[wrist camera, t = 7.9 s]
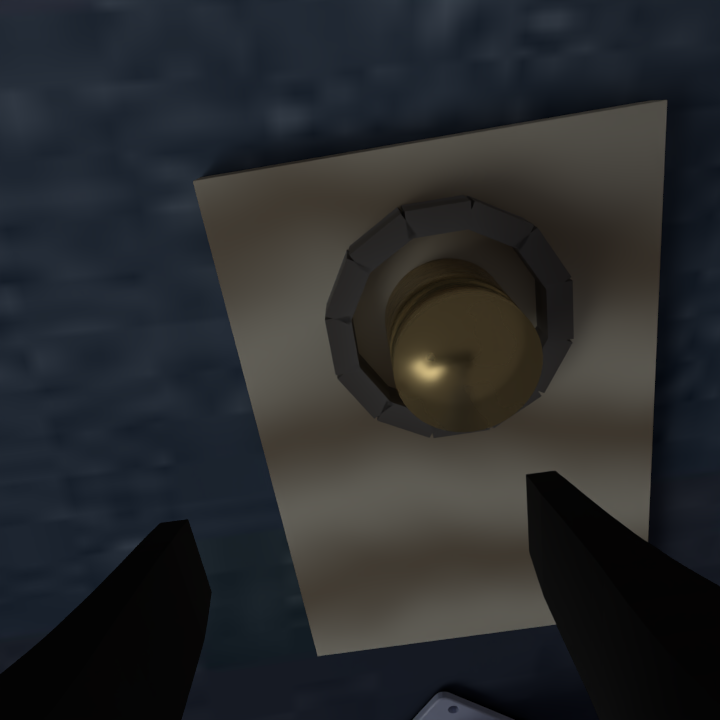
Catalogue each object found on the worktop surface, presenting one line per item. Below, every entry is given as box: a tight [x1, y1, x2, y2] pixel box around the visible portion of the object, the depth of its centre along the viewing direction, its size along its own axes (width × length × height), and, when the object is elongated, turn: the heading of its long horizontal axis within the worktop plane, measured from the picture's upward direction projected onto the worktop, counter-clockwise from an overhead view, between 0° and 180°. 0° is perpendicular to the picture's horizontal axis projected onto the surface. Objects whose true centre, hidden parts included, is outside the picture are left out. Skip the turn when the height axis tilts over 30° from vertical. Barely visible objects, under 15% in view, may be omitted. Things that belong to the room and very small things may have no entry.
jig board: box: [193, 100, 667, 656], centre depth 21 cm, size 20×14×2 cm
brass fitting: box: [385, 258, 543, 432], centre depth 18 cm, size 4×4×4 cm
